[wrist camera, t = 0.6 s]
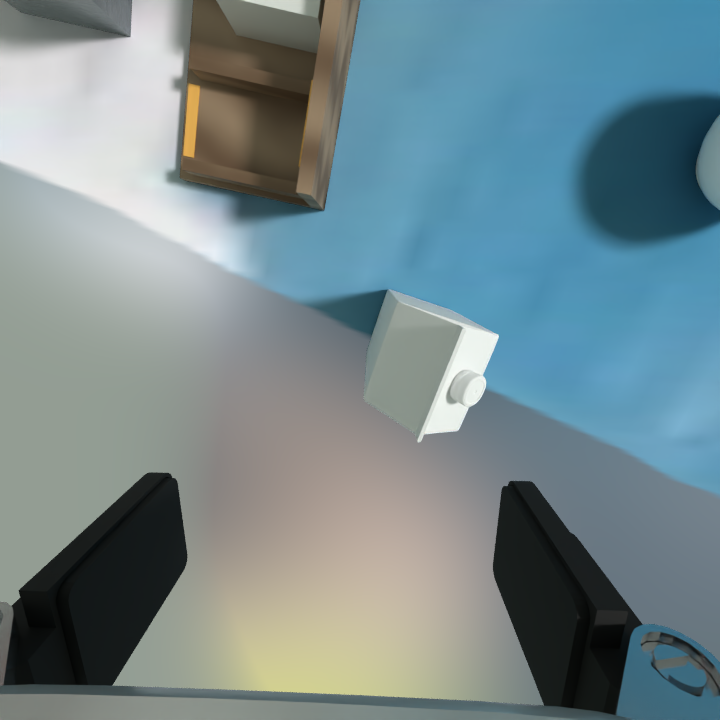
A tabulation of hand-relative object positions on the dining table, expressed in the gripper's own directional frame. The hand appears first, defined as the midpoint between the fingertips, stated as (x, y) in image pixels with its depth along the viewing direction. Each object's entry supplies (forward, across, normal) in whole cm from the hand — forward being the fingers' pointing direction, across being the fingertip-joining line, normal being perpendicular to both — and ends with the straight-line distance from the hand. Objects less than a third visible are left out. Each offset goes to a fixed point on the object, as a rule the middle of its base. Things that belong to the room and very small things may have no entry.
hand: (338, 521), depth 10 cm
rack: (+30, +9, -23) cm, 38 cm away
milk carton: (+30, -5, 0) cm, 30 cm away
